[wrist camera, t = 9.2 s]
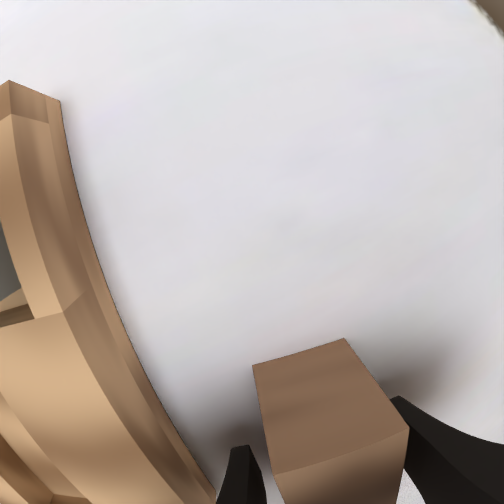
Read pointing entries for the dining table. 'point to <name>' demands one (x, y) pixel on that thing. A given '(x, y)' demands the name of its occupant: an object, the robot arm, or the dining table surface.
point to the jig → (71, 344)
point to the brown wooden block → (330, 428)
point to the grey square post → (7, 269)
